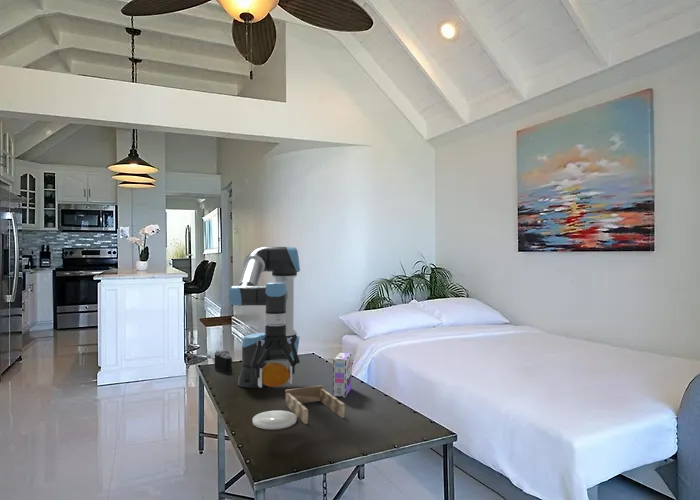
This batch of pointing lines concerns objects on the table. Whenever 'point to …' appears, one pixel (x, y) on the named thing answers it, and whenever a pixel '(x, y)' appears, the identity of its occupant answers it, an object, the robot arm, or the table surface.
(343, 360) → the candy box
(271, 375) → the fruit
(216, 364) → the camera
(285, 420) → the plate
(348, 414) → the table surface
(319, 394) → the oak open frame
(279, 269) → the robot arm
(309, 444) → the table surface
